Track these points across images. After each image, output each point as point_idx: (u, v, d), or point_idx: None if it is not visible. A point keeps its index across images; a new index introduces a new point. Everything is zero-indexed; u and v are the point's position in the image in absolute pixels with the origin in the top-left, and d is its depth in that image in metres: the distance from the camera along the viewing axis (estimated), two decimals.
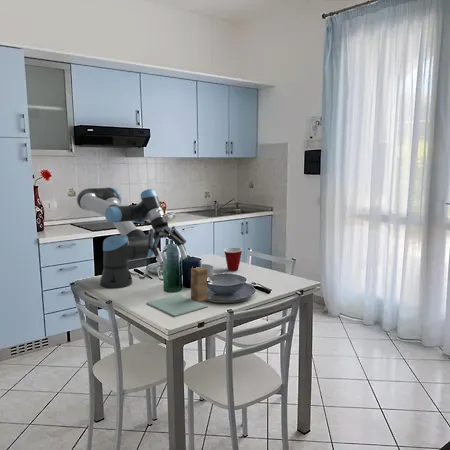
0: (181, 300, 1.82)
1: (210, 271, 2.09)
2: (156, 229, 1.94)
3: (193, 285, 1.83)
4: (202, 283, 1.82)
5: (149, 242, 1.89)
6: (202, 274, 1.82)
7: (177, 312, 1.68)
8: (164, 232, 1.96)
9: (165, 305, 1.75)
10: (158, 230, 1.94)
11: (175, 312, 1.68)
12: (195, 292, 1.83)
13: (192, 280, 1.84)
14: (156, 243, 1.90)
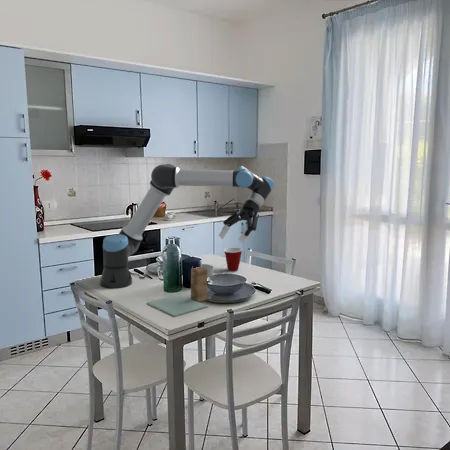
0: (181, 300, 1.82)
1: (210, 271, 2.09)
2: None
3: (193, 285, 1.83)
4: (202, 283, 1.82)
5: (255, 224, 1.91)
6: (202, 274, 1.82)
7: (177, 312, 1.68)
8: None
9: (165, 305, 1.75)
10: None
11: (175, 312, 1.68)
12: (195, 292, 1.83)
13: (192, 280, 1.84)
14: None
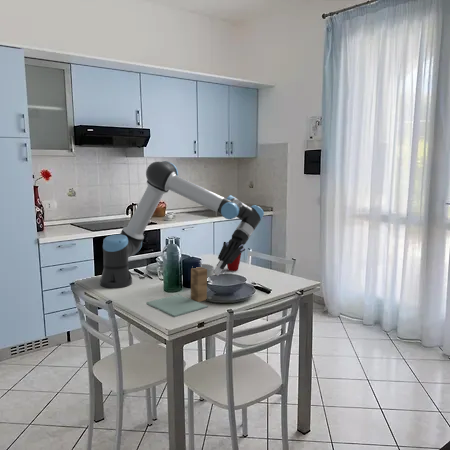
0: (181, 300, 1.82)
1: (210, 271, 2.09)
2: None
3: (193, 285, 1.83)
4: (202, 283, 1.82)
5: (233, 258, 1.91)
6: (202, 274, 1.82)
7: (177, 312, 1.68)
8: None
9: (165, 305, 1.75)
10: None
11: (175, 312, 1.68)
12: (195, 292, 1.83)
13: (192, 280, 1.84)
14: None
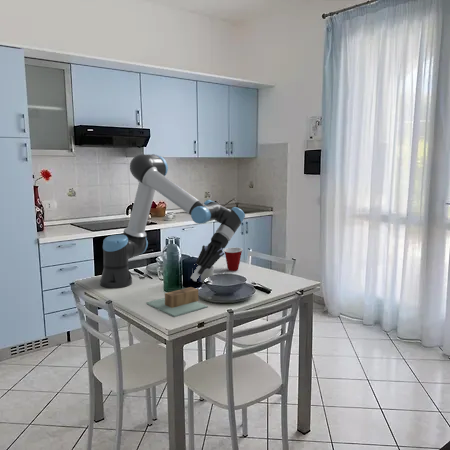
0: None
1: (210, 271, 2.09)
2: None
3: None
4: (183, 299, 1.76)
5: (212, 263, 1.82)
6: (175, 301, 1.74)
7: (177, 312, 1.68)
8: None
9: (165, 305, 1.75)
10: None
11: (175, 312, 1.68)
12: None
13: None
14: None
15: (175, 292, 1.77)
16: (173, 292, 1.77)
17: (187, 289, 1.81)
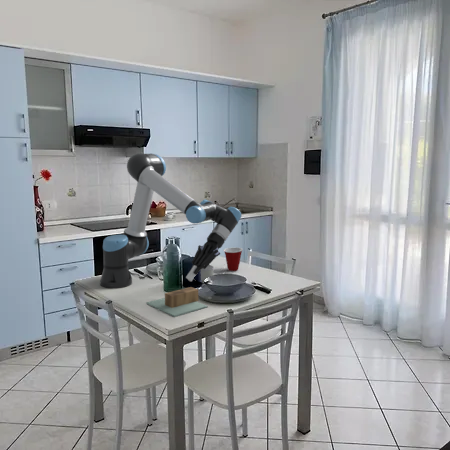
0: None
1: (210, 271, 2.09)
2: None
3: None
4: (183, 299, 1.76)
5: (207, 263, 1.81)
6: (175, 301, 1.74)
7: (177, 312, 1.68)
8: None
9: (165, 305, 1.75)
10: None
11: (175, 312, 1.68)
12: None
13: None
14: None
15: (175, 292, 1.77)
16: (173, 292, 1.77)
17: (187, 289, 1.81)
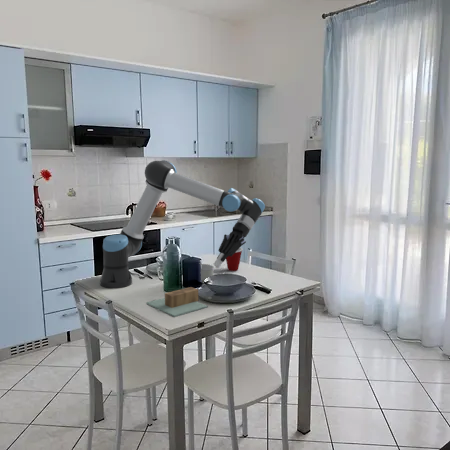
0: None
1: (210, 271, 2.09)
2: None
3: None
4: (183, 299, 1.76)
5: (234, 250, 1.91)
6: (175, 301, 1.74)
7: (177, 312, 1.68)
8: None
9: (165, 305, 1.75)
10: None
11: (175, 312, 1.68)
12: None
13: None
14: None
15: (175, 292, 1.77)
16: (173, 292, 1.77)
17: (187, 289, 1.81)
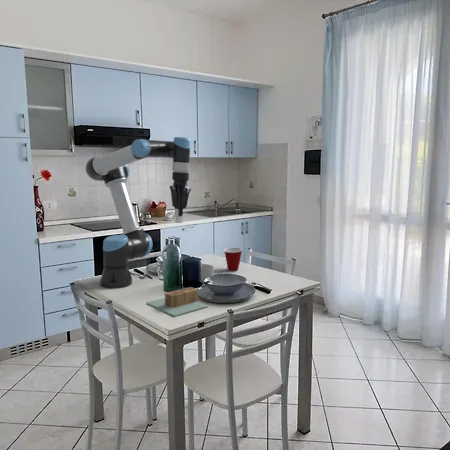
0: None
1: (210, 271, 2.09)
2: None
3: None
4: (183, 299, 1.76)
5: (185, 202, 1.91)
6: (175, 301, 1.74)
7: (177, 312, 1.68)
8: None
9: (165, 305, 1.75)
10: None
11: (175, 312, 1.68)
12: None
13: None
14: None
15: (175, 292, 1.77)
16: (173, 292, 1.77)
17: (187, 289, 1.81)
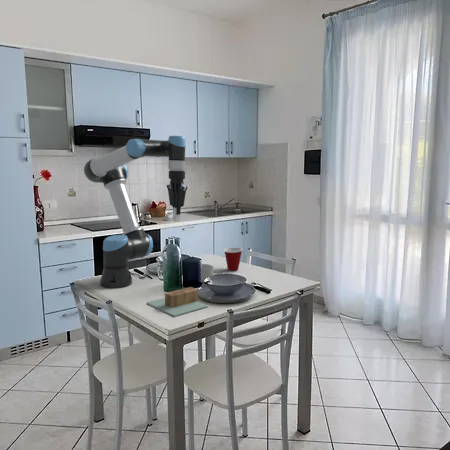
0: None
1: (210, 271, 2.09)
2: None
3: None
4: (183, 299, 1.76)
5: (182, 200, 1.91)
6: (175, 301, 1.74)
7: (177, 312, 1.68)
8: None
9: (165, 305, 1.75)
10: None
11: (175, 312, 1.68)
12: None
13: None
14: None
15: (175, 292, 1.77)
16: (173, 292, 1.77)
17: (187, 289, 1.81)
